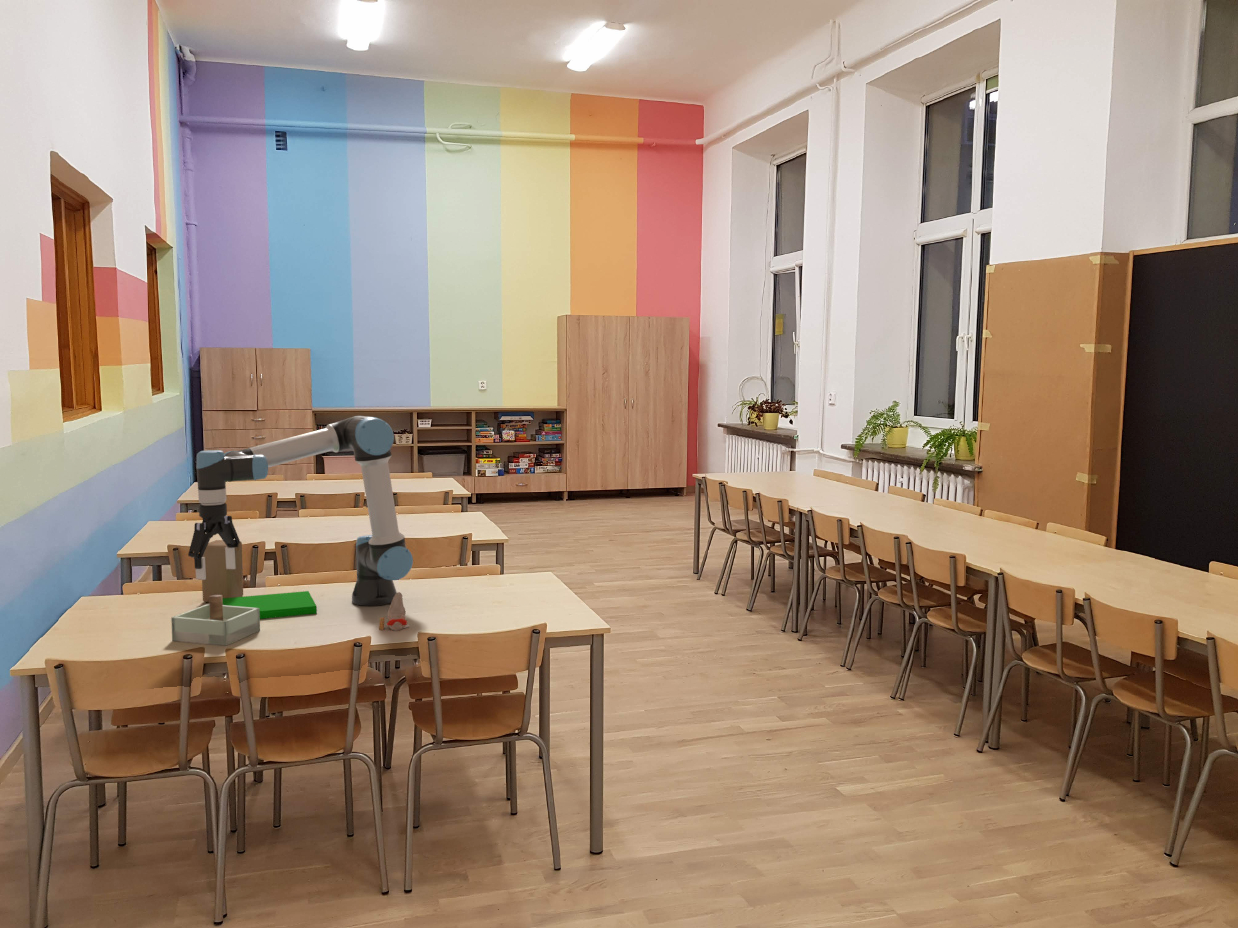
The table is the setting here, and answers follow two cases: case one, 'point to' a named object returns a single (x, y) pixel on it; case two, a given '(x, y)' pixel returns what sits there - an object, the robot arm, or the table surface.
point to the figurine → (395, 614)
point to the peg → (216, 607)
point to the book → (277, 604)
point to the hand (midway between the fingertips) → (216, 573)
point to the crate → (215, 625)
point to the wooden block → (222, 572)
